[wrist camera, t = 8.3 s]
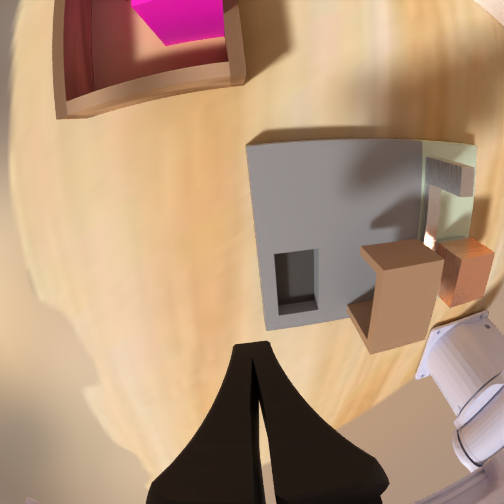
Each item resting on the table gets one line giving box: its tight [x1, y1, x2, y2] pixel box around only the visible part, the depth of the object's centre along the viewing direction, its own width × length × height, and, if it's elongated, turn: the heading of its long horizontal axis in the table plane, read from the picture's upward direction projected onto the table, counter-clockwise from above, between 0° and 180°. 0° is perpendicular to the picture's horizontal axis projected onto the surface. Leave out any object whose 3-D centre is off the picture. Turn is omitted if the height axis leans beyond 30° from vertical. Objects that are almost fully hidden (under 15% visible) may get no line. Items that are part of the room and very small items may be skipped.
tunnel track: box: [246, 138, 477, 354], centre depth 18 cm, size 18×13×6 cm
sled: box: [420, 157, 495, 308], centre depth 17 cm, size 8×10×4 cm
